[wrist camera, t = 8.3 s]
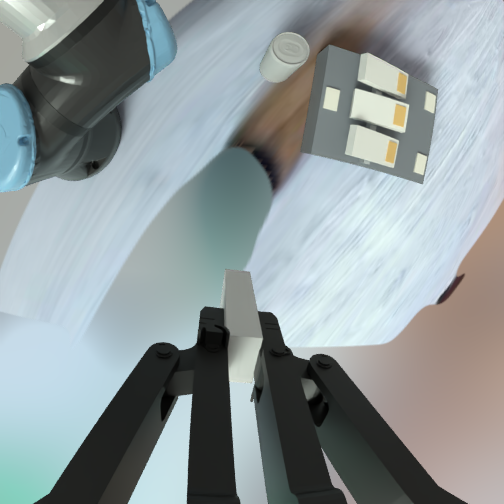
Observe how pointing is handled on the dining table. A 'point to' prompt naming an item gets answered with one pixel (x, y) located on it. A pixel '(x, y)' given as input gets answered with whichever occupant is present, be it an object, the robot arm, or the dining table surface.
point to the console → (338, 122)
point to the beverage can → (284, 56)
